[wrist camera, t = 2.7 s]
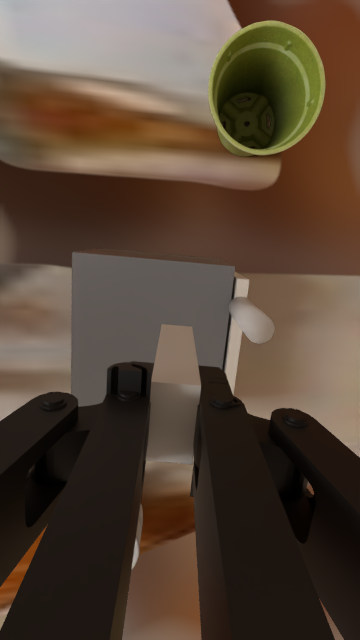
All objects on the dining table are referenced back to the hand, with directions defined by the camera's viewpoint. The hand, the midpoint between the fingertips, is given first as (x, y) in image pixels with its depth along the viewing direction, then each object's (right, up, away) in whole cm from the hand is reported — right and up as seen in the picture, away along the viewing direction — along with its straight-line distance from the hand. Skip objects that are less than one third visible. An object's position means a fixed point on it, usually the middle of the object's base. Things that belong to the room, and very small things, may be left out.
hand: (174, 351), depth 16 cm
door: (+5, -1, +24) cm, 24 cm away
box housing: (-3, +1, +24) cm, 24 cm away
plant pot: (+7, +22, +19) cm, 30 cm away
